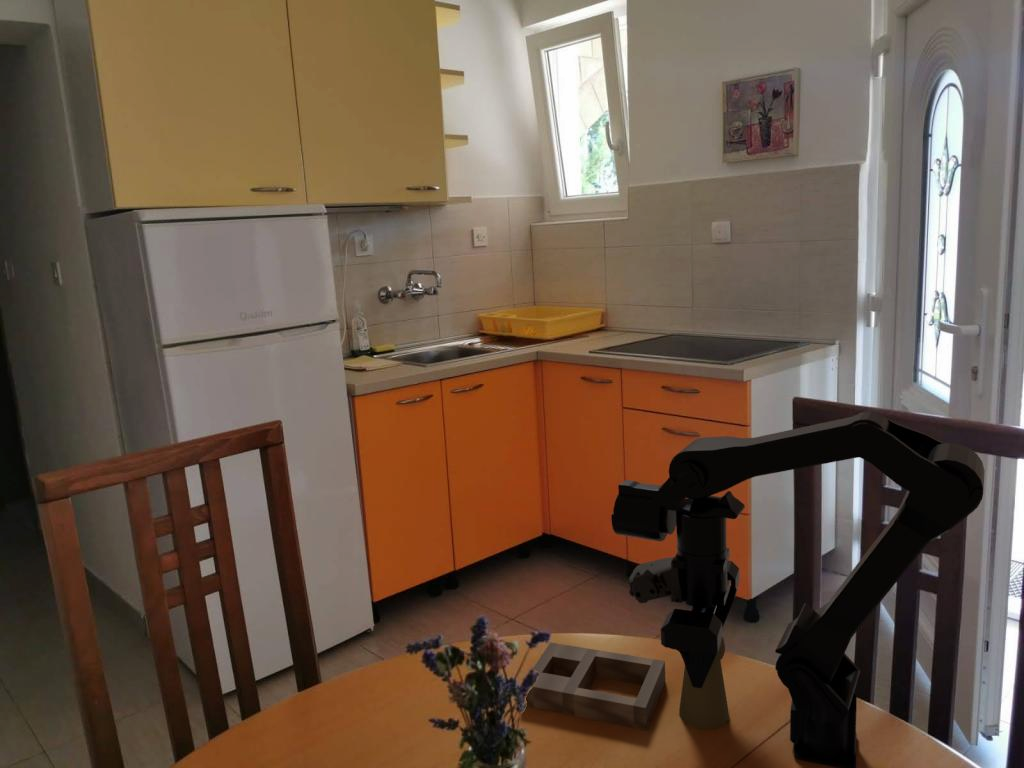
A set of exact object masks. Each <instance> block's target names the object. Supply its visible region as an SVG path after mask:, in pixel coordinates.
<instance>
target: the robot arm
mask: <svg viewBox="0 0 1024 768" xmlns="http://www.w3.org/2000/svg"><path fill="white" fill-rule="evenodd" d="M857 458H860V459H862V460H864V461H865V462H867V463H869V464H871V465H873V466H874V467H875V468H876V469H877V470H879V471H880V472H881V473H882V474H883V475H885V476H886V477H888V478H889V479H890V481H893V482H894V483H895V484H896V485H898V486H899V487H901V488H903V489H904V490H906V492H905V494H904V497H903V498H902V501H901V503H900V505H899V507H898V510H897V511H896V513H895V515H894V516H893V517H892V518H891V520H889V522H888V523H887V525H886V526H885V527H884V528H883V530H882V531H881V532H880V534H879V535H878V536H877V537H876V539H875V541H874V542H872V544H871V546H870V547H869V548H868V549H867V551H866V552H865V553H864V555H863V556H862V558H861V559H860V560H859V561H858V562H857V564H856V565H855V566H854V568H852V570H851V572H850V573H849V574H848V576H847V577H846V578H845V580H844V581H843V582H842V583H841V585H840V586H839V587H838V588H837V590H836V591H835V592H834V594H833V595H832V596H831V597H830V599H829V601H828V602H827V603H826V604H824V605H823V606H821V607H819V608H817V609H816V610H815V609H813V608H812V606H810V605H809V604H808V603H807V602H805V603H804V604H803V606H802V608H801V609H800V610H801V611H800V612H799V615H798V616H797V618H795V619H794V620H793V621H791V622H789V623H787V626H786V628H785V630H784V632H783V634H782V636H781V637H780V638H781V639H780V640H779V642H778V644H777V647H776V648H775V650H774V653H776V654H779V655H778V658H777V660H776V662H775V670H776V674H777V677H778V678H779V680H780V681H781V683H782V685H784V686H785V688H787V689H788V692H789V694H790V698H791V704H790V714H789V715H790V717H789V720H790V722H789V726H790V727H789V729H790V730H789V732H790V733H789V740H790V742H791V743H793V755H792V756H793V757H794V758H795V759H799V760H803V761H808V762H812V763H813V762H814V763H819V764H823V765H829V766H834V767H837V768H839V767H840V768H857V711H858V710H857V709H858V708H857V695H856V694H855V690H856V686H857V683H858V680H859V677H860V673H861V668H859V667H858V665H856V664H855V663H854V662H853V661H852V659H850V657H849V656H848V655H847V654H846V653H845V652H846V651H847V648H848V646H849V644H850V642H851V640H852V638H853V636H854V635H855V634H856V633H857V631H858V630H859V629H860V627H862V626H863V624H864V623H865V621H867V620H868V618H869V617H870V615H872V613H873V612H874V610H875V609H876V608H877V607H878V606H879V604H880V603H881V602H882V601H883V600H884V598H885V597H886V596H887V594H889V592H890V591H891V589H892V588H893V587H894V586H895V585H896V583H897V582H898V581H899V579H900V578H902V576H903V574H905V573H906V571H907V570H908V569H909V567H910V566H912V565H911V564H913V563H914V561H915V560H916V559H917V557H918V556H919V555H920V554H921V553H922V551H923V550H924V548H925V547H926V546H927V545H929V544H930V542H932V541H934V540H935V539H937V538H939V537H941V536H942V535H944V534H946V533H948V532H949V531H951V530H953V529H954V528H955V527H957V525H959V524H960V523H961V522H962V521H963V520H965V519H966V518H968V516H970V514H972V513H973V512H974V511H976V509H977V508H978V507H979V506H980V504H981V502H982V501H983V497H984V496H983V495H984V490H985V489H984V487H985V468H984V464H983V460H982V459H981V458H980V457H979V455H978V453H976V452H975V451H974V450H972V449H971V448H970V447H968V446H966V445H963V444H960V443H953V442H946V443H945V442H943V441H941V440H939V439H937V438H936V437H933V436H931V435H930V434H927V433H925V432H924V431H921V430H917V429H914V428H911V427H909V426H906V425H904V424H901V423H898V422H895V421H893V420H892V419H890V418H888V417H886V416H884V415H883V414H881V413H880V412H877V411H876V412H875V411H872V410H871V411H870V410H869V411H862V412H859V413H857V414H856V415H853V416H850V417H845V418H841V419H840V418H839V419H836V420H831V421H827V422H821V423H816V424H812V425H808V426H802V427H798V428H793V429H788V430H784V431H783V430H782V431H778V432H774V433H769V434H766V435H765V434H764V435H759V436H755V437H736V436H735V437H734V436H728V435H727V436H708V437H707V436H705V437H699V438H697V439H694V440H692V441H691V442H690V443H689V444H688V445H686V446H685V447H683V449H682V450H680V451H679V452H678V453H677V454H675V455H674V456H673V458H671V461H670V463H669V466H668V478H667V479H666V480H665V481H664V482H663V483H662V484H661V485H659V484H653V483H652V484H650V483H641V482H638V481H636V480H630V479H625V480H623V481H622V482H621V483H620V484H619V485H617V487H618V494H617V496H616V498H615V501H614V504H613V509H612V510H613V512H612V513H611V517H610V518H611V519H610V521H611V525H612V530H613V531H614V533H615V534H616V535H618V536H623V537H630V538H631V537H632V538H636V539H643V540H650V541H654V542H663V541H665V539H666V538H667V536H668V535H672V534H674V532H675V530H676V554H675V556H673V557H664V558H659V559H655V560H651V561H648V562H647V561H646V562H643V563H641V564H638V565H637V566H635V567H634V569H633V571H632V572H631V574H630V576H629V577H628V580H629V581H628V585H629V591H628V592H629V593H628V594H629V595H630V596H631V597H633V598H635V600H636V601H638V603H639V604H645V603H648V602H649V601H653V600H657V599H662V598H667V597H669V596H670V601H671V603H679V604H681V603H682V602H685V605H688V606H690V607H692V608H691V610H688V609H681V608H674V609H673V610H671V611H670V612H669V613H668V614H667V615H666V616H665V619H664V621H663V623H662V625H661V628H660V645H662V646H663V647H664V648H668V649H671V650H676V651H678V653H679V654H680V656H681V658H682V661H683V664H684V668H685V667H686V669H687V672H688V675H689V678H690V681H691V684H692V686H693V687H695V688H702V686H703V684H704V682H705V680H706V677H707V675H708V673H709V671H710V669H711V666H712V664H713V662H714V660H715V658H716V655H717V654H718V652H719V648H720V645H721V642H722V639H721V638H722V637H723V628H724V626H725V623H726V621H727V618H728V615H729V613H730V611H731V608H732V606H733V603H734V601H735V599H736V595H737V593H738V588H739V584H740V568H739V566H737V564H735V562H734V561H732V560H729V559H730V557H731V555H730V548H728V546H727V540H728V539H727V519H729V520H736V519H737V518H738V517H739V516H740V514H741V513H742V512H743V511H744V510H745V508H746V505H745V504H744V503H743V502H742V501H741V500H740V499H739V498H737V497H735V496H734V495H733V493H732V491H730V490H729V489H731V488H733V487H734V486H735V487H736V486H737V485H739V484H740V483H743V482H745V481H747V480H750V479H752V478H755V477H760V476H761V477H762V476H765V475H772V474H777V473H781V472H786V471H787V472H788V471H792V470H793V471H794V470H799V469H803V468H808V467H813V466H820V465H825V464H831V463H836V462H841V461H845V460H847V461H848V460H851V459H857ZM727 490H728V491H727ZM724 491H726V492H725V493H724V494H723V495H721V496H716V494H719V493H721V492H724Z"/></svg>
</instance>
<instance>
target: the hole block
mask: <svg viewBox="0 0 1024 768" xmlns="http://www.w3.org/2000/svg"><path fill="white" fill-rule="evenodd" d="M531 670H536V671H538V672H539V673H540V676H539V678H538V680H537V682H536V683H535V685H534V686H533V688H532V689H531V690H530V691H529V693H528V695H527V697H526V701H527V706H526V707H529V708H533V709H534V708H535V709H539V710H544V711H549V712H553V713H559V714H565V715H568V716H574V717H578V718H584V719H588V720H594V721H598V722H599V721H600V722H605V723H609V724H615V725H620V726H624V727H628V728H634V729H638V730H639V729H640V730H644V731H647V729H648V727H649V725H650V722H651V719H652V716H653V715H654V711H655V710H656V706H657V705H658V702H659V699H660V696H661V694H662V691H663V688H664V686H665V683H666V661H665V660H661V659H654V658H648V657H642V656H637V655H631V654H630V655H629V654H624V653H619V652H618V653H617V652H611V651H606V650H600V649H599V650H598V649H593V648H587V647H581V646H575V645H569V644H564V643H563V644H562V643H556V642H551V641H550V642H549V644H548V645H547V646H546V648H545V650H544V651H543V653H542V654H540V657H539V658H538V660H537V662H536V663H535V664H534V665H533V666H532V668H531ZM596 677H600V678H605V679H611V680H617V681H622V682H627V683H628V682H629V683H633V684H638V683H639V685H641V687H640V690H639V692H638V694H637V696H636V697H631V696H625V695H620V694H615V693H609V692H603V691H598V690H594V689H591V686H592V685H593V683H594V681H595V679H596Z"/></svg>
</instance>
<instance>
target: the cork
mask: <svg viewBox="0 0 1024 768" xmlns="http://www.w3.org/2000/svg"><path fill="white" fill-rule="evenodd" d="M721 639H722V642H721V645H720V648H719V652H718V654H717V655H716V658H715V660H714V662H713V664H712V666H711V669H710V671H709V673H708V675H707V677H706V680H705V682H704V684H703V686H702V688H695V687H693V686H692V684H691V681H690V678H689V675H688V672H687V669H686V667H685V666H684V669H683V670H684V671H683V675H682V676H683V678H682V686H681V695H680V701H679V708H678V710H679V712H678V713H679V717H680V719H681V720H682V721H684V723H686V724H687V725H689V726H691V727H694V728H696V729H697V728H698V729H701V730H715V729H719V728H721V727H723V726H724V725H726V724H727V723H728V721H729V719H730V713H729V707H728V706H729V705H728V701H727V694H726V687H725V680H724V676H723V667H722V659H723V658H724V656H725V651H726V644H725V640H724V637H723V636H722V638H721Z"/></svg>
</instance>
